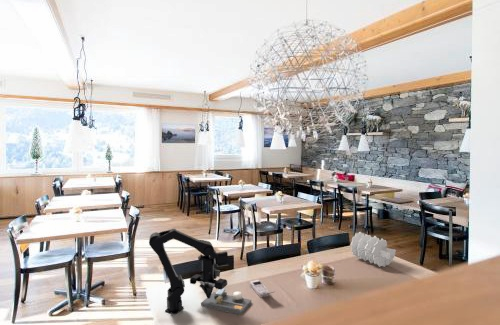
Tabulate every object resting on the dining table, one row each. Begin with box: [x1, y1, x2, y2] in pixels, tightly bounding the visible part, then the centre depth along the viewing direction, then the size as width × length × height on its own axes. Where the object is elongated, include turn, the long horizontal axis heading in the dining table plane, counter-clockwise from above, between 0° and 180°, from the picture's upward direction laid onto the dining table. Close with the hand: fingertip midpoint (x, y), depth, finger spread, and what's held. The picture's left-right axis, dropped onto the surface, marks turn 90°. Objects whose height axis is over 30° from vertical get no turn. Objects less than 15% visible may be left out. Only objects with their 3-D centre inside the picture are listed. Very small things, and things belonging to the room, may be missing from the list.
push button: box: [232, 290, 243, 300], centre depth 153 cm, size 4×4×2 cm
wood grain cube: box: [216, 296, 223, 305], centre depth 150 cm, size 2×3×3 cm
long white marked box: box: [249, 279, 276, 298], centre depth 164 cm, size 6×6×25 cm
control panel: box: [200, 291, 252, 316], centre depth 152 cm, size 22×12×3 cm, turn 65°
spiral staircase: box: [349, 231, 397, 268], centre depth 202 cm, size 18×18×25 cm
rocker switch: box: [215, 287, 227, 296], centre depth 157 cm, size 3×5×1 cm, turn 155°
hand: (208, 298), depth 153 cm, fingers closed
